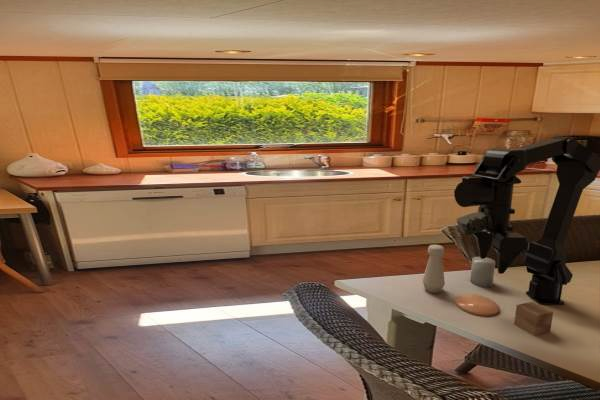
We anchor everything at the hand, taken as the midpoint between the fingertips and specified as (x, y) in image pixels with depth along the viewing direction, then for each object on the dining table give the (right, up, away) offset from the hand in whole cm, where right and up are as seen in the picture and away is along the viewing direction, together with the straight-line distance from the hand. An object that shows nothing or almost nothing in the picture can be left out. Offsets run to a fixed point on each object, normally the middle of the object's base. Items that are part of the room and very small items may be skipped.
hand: (491, 265), depth 87 cm
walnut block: (+7, -13, -5) cm, 16 cm away
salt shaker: (-9, -10, +14) cm, 19 cm away
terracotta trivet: (-1, -11, +5) cm, 12 cm away
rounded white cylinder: (+7, -8, +18) cm, 21 cm away
